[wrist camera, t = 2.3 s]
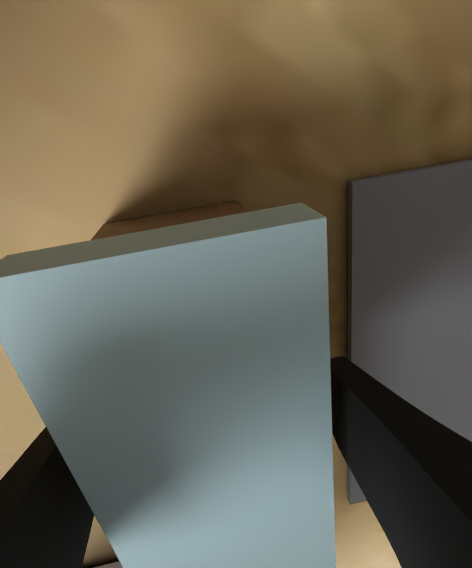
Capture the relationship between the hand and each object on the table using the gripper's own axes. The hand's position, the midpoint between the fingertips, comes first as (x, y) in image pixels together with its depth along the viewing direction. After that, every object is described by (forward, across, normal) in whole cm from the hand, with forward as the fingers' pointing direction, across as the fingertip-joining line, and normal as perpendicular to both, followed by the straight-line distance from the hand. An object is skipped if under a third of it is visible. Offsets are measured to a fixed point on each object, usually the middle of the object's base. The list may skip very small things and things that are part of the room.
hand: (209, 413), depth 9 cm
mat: (+3, -10, +3) cm, 11 cm away
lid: (-1, 0, 0) cm, 1 cm away
